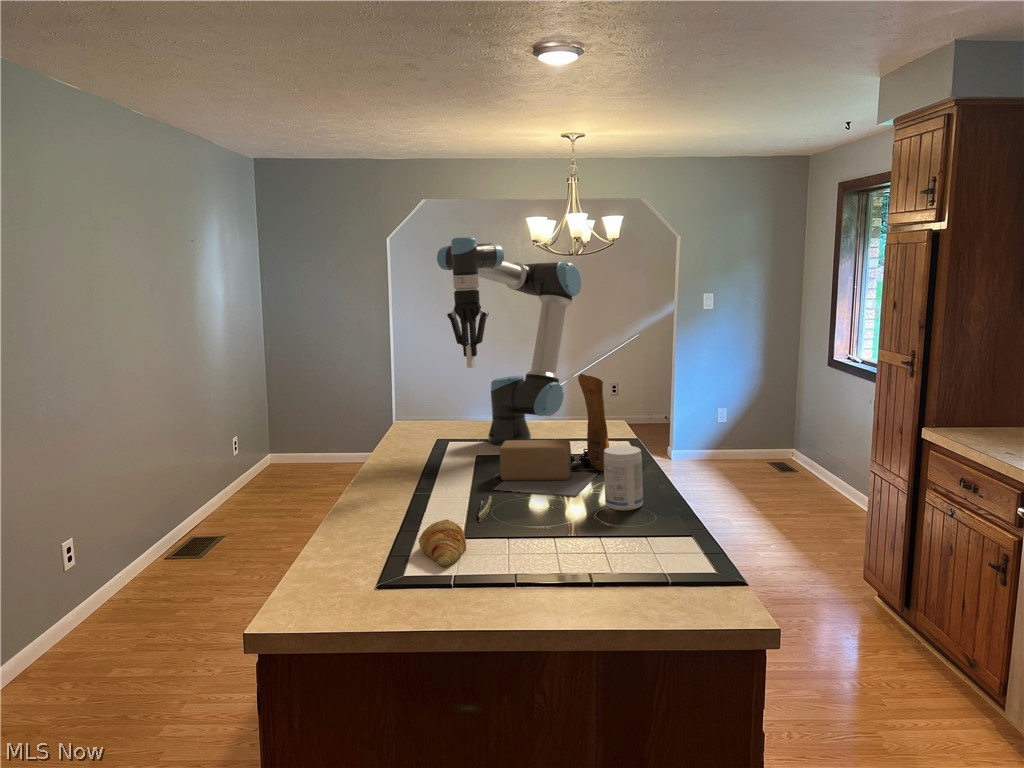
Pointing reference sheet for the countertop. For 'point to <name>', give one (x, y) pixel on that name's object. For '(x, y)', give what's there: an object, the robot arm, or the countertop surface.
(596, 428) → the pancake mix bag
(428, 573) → the countertop surface
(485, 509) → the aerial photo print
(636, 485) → the supplement tub
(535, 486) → the mat
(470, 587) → the countertop surface
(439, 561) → the croissant
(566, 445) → the wooden block
